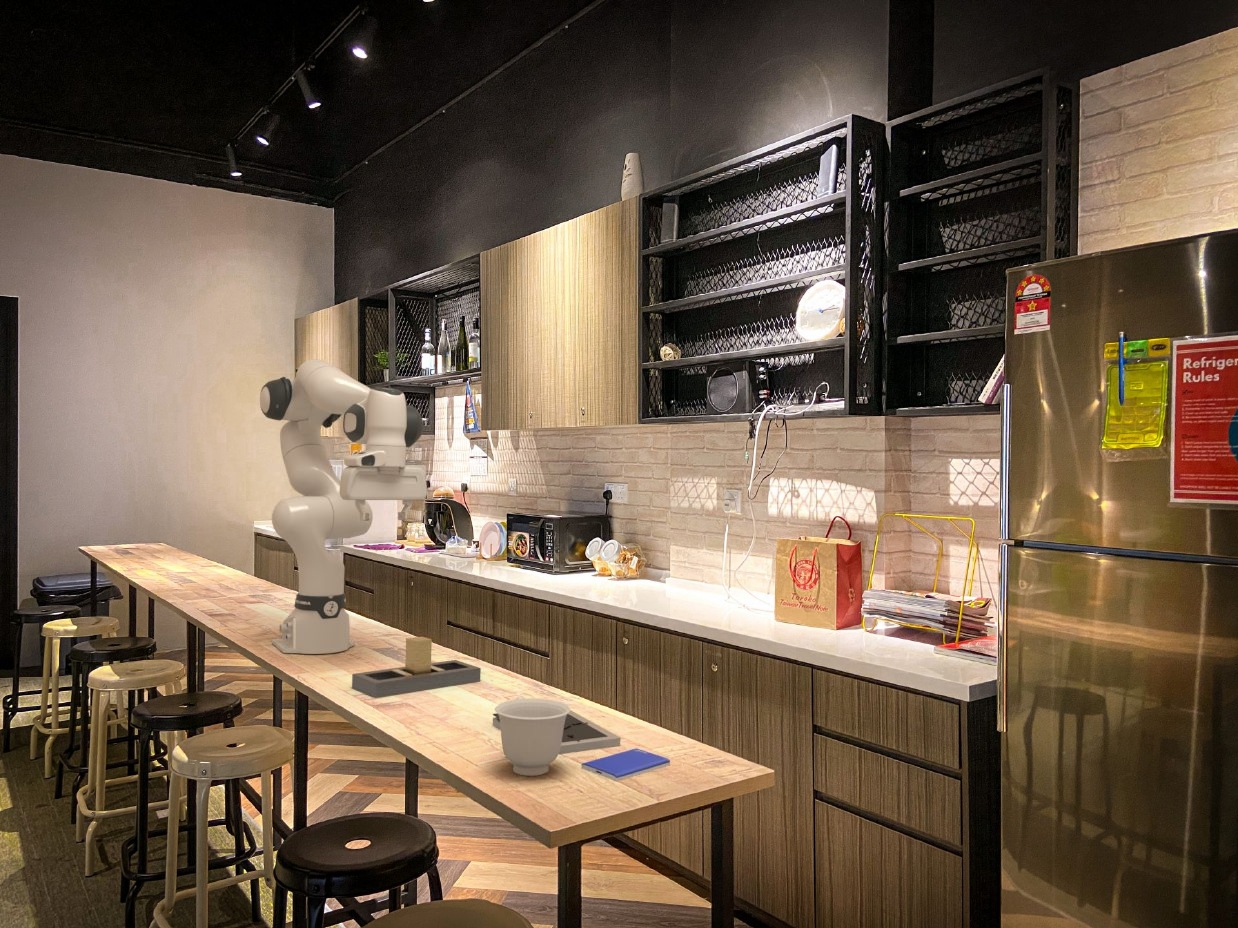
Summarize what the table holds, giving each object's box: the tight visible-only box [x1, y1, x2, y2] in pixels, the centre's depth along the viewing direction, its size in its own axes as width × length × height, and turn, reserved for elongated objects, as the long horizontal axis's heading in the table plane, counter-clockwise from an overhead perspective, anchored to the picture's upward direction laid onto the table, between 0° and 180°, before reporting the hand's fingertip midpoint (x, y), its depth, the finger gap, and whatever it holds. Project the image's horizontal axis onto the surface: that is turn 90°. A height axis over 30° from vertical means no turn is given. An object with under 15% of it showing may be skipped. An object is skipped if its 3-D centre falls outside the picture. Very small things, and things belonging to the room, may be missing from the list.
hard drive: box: [580, 747, 671, 782], centre depth 152 cm, size 2×8×12 cm
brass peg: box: [404, 636, 433, 676], centre depth 204 cm, size 4×4×10 cm
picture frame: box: [492, 709, 621, 755], centre depth 169 cm, size 16×3×21 cm
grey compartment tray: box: [351, 659, 482, 699], centre depth 204 cm, size 10×26×3 cm, turn 132°
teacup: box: [494, 696, 571, 777], centre depth 150 cm, size 12×15×10 cm
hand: (383, 520), depth 210 cm, fingers open, 8 cm apart
